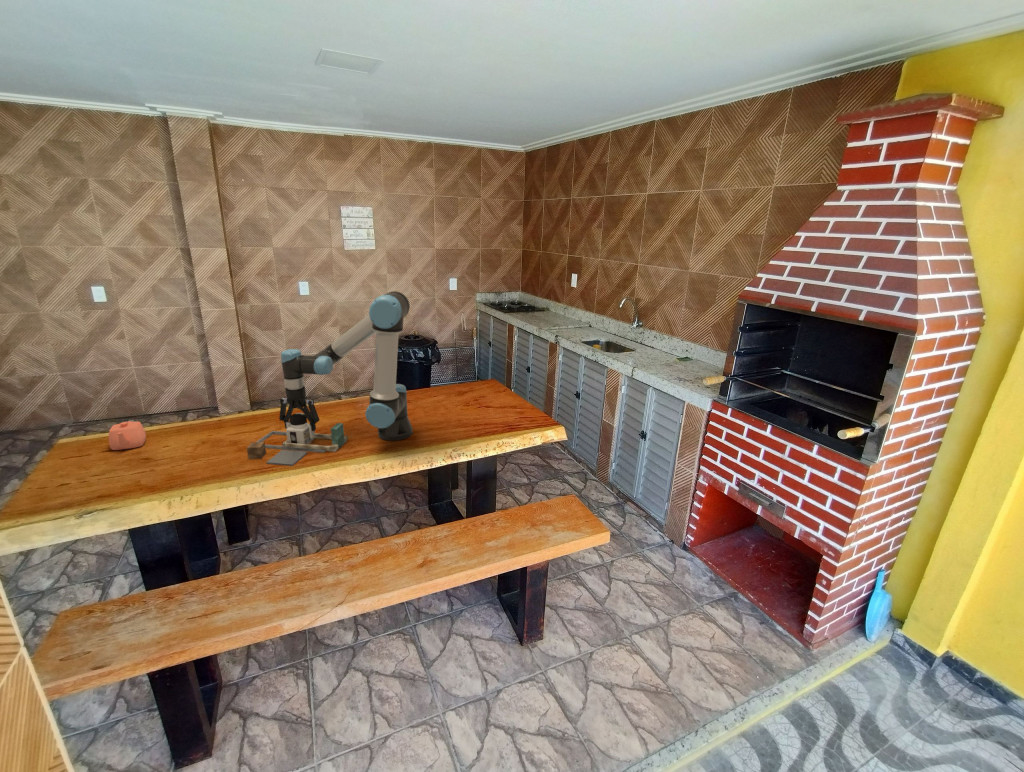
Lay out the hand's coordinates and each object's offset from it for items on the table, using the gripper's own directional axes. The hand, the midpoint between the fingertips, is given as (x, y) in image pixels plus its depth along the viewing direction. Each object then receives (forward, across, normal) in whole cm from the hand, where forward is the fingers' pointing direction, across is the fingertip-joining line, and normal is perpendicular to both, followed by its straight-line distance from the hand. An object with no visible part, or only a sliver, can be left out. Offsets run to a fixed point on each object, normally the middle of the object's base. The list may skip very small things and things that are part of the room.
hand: (301, 436), depth 210 cm
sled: (+3, -6, 0) cm, 7 cm away
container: (+3, +1, 0) cm, 3 cm away
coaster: (+3, -2, +14) cm, 14 cm away
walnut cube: (+3, +12, +14) cm, 18 cm away
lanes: (+3, +2, 0) cm, 4 cm away
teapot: (+3, +68, +15) cm, 70 cm away
